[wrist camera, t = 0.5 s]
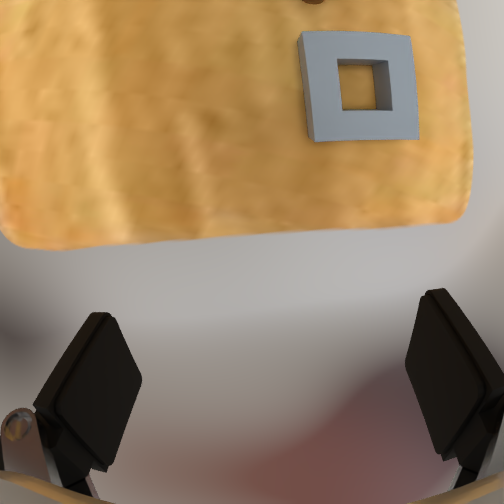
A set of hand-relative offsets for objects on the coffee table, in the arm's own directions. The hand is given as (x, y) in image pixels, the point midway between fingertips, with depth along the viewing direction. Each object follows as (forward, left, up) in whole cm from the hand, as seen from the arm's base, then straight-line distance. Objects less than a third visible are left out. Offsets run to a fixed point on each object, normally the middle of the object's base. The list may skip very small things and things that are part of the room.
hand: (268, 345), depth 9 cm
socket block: (-8, +10, -28) cm, 31 cm away
